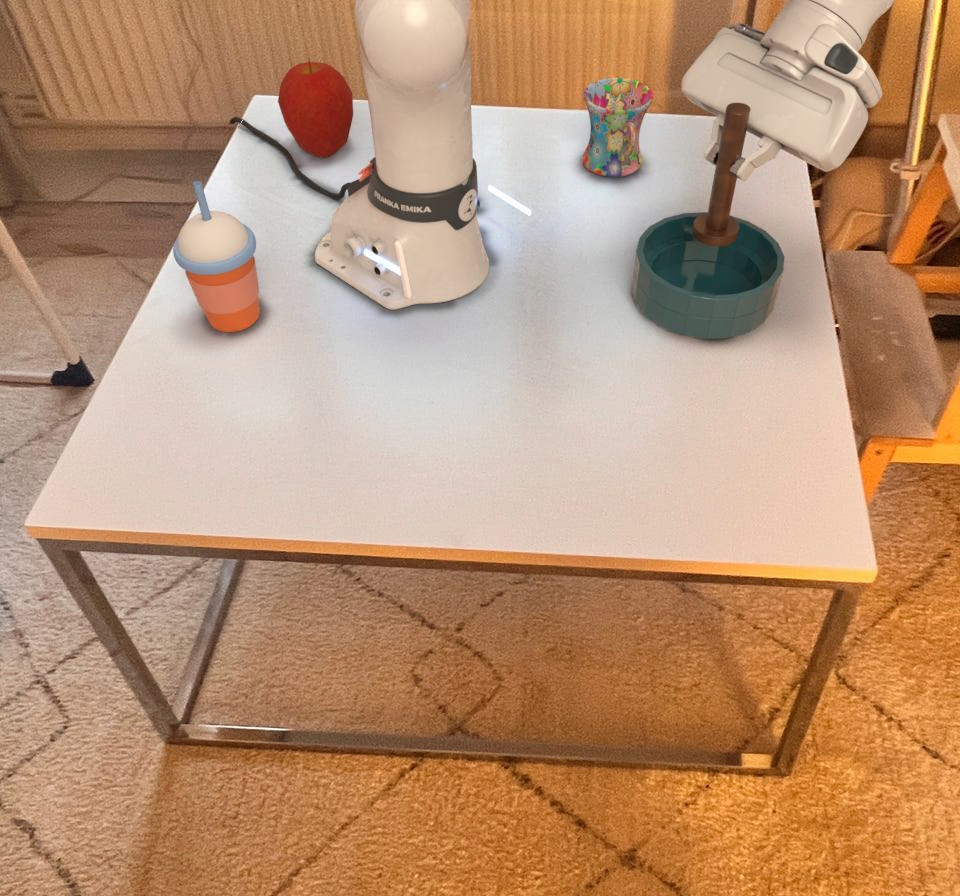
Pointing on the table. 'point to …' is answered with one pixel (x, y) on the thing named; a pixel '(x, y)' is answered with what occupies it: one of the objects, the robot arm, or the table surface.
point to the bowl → (706, 279)
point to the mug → (615, 125)
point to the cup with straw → (220, 266)
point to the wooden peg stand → (724, 182)
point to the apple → (316, 107)
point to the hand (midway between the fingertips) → (723, 169)
